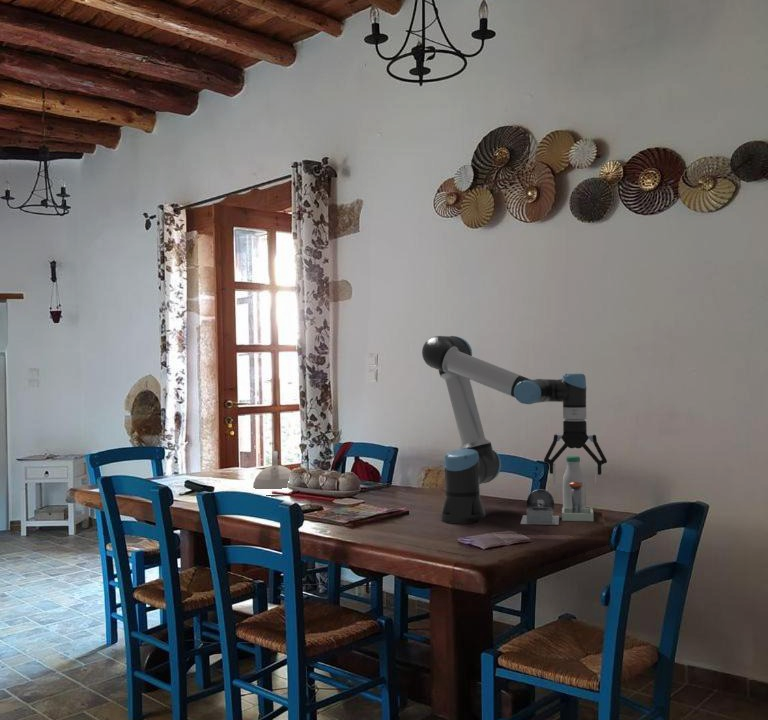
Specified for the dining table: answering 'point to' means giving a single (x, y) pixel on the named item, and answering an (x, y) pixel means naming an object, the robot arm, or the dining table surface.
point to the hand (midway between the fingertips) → (575, 484)
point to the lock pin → (576, 496)
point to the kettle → (273, 475)
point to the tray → (577, 515)
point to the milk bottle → (573, 475)
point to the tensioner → (540, 509)
